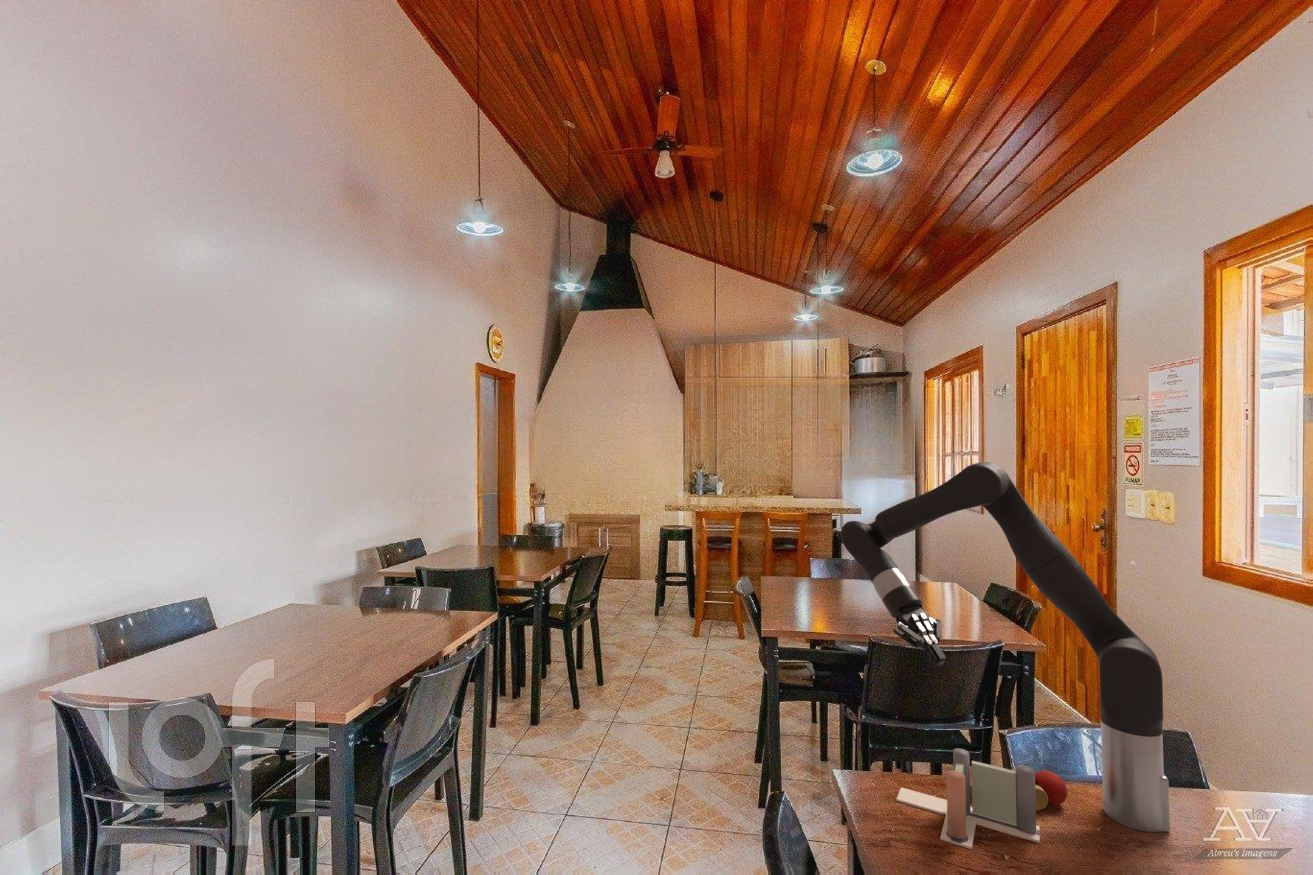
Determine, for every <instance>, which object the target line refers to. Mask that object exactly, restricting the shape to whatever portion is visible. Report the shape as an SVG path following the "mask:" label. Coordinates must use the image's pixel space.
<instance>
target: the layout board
mask: <svg viewBox="0 0 1313 875" xmlns="http://www.w3.org/2000/svg"><path fill="white" fill-rule="evenodd" d="M895 801H896V802H900V803H902V804H905V805H909V806H912V807H915V808H920V809H923V810H926V811H929V812H932V811H933V813H935V814H941V815H943V816H945V818H944V820H943V821H944V822H943V826H942V830H941V833H940V836H939V837H940V841H944V842H948V843H950V844H954V845H957V846H960V847H962V848H966V849H969V850H973V846H974V845H973V844H974V841H975V840H974V839H975V833H976V825H977V826H980V825H981V826H980V827H984V828H986V829H991V830H993V831H994V830H995V831H997V832H1001V833H1003V834H1006V835H1007V834H1008V835H1011V836H1014V837H1017V838H1021V839H1023V840H1024V839H1025V840H1028V841H1030V842H1031V841H1032V842H1035V843H1038V844H1039V843H1041V840H1040V837H1041V835H1040V833H1041V832H1040V826H1039V825H1037V824H1036V832H1026V831H1023V830H1021V829H1020V828H1018V826H1017V825H1014V824H1011V823H1007V822H1004V821H1000V820H997V819H993V818H990V817H986V816H983V815H979V814H976V813H972V806H970V814H969V815H967V816H966V838H964V839H957V838H954V837H952V836H950V835H949V834H948V829H947V799H944V798H940V797H937V796H933V795H930V794H926V793H922V792H920V791H915V790H912V789H907V788H905V787H900V789H899V791H898V794H897V797H896V800H895ZM944 814H945V815H944Z"/></svg>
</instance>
